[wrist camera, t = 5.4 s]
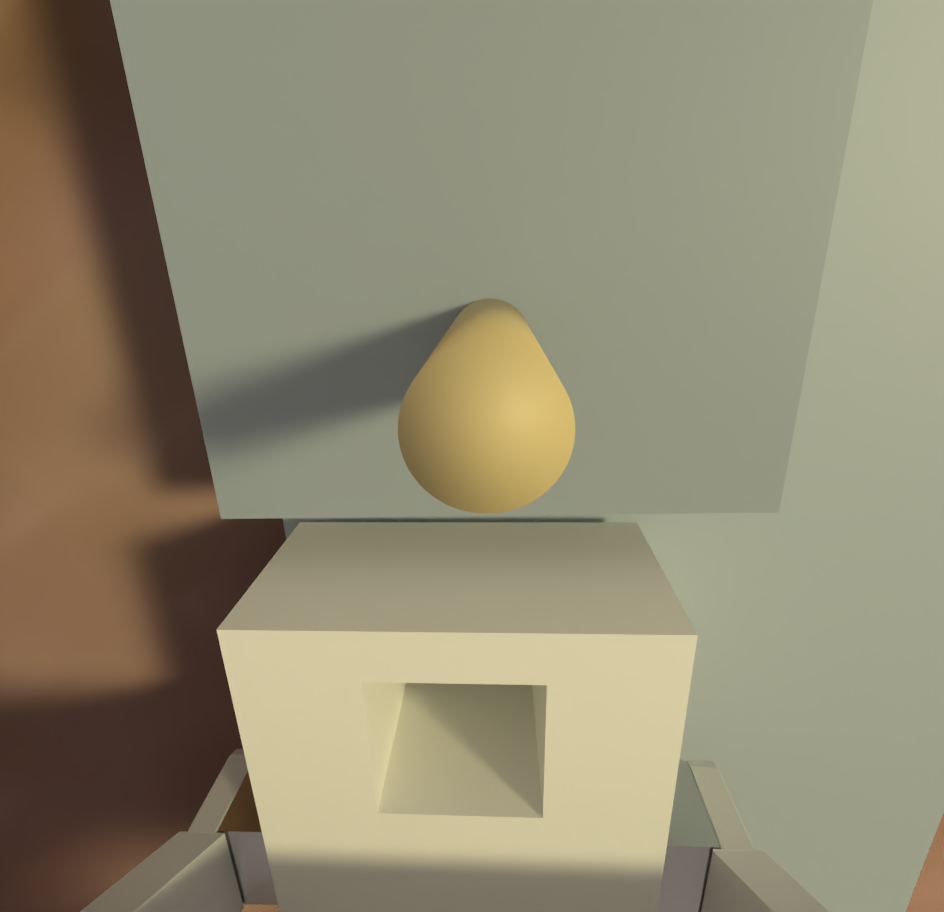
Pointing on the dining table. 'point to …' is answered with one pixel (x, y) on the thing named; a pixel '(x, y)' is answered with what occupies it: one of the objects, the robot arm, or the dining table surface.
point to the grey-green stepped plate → (602, 333)
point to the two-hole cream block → (462, 715)
